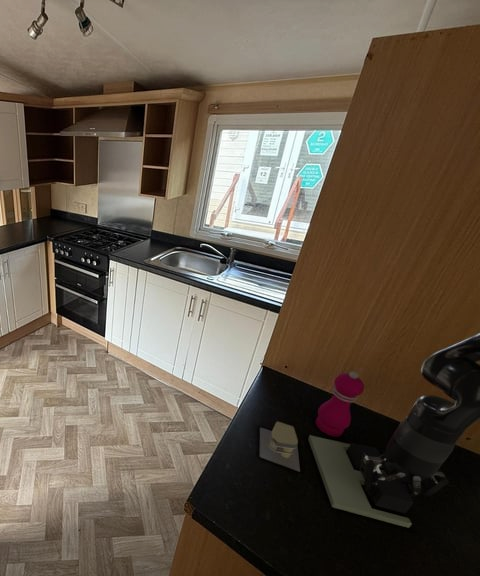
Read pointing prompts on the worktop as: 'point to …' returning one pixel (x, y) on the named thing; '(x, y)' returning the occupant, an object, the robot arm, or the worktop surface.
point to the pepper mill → (339, 404)
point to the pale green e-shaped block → (346, 481)
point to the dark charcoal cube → (360, 454)
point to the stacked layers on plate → (280, 445)
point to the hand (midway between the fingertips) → (384, 495)
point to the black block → (392, 496)
